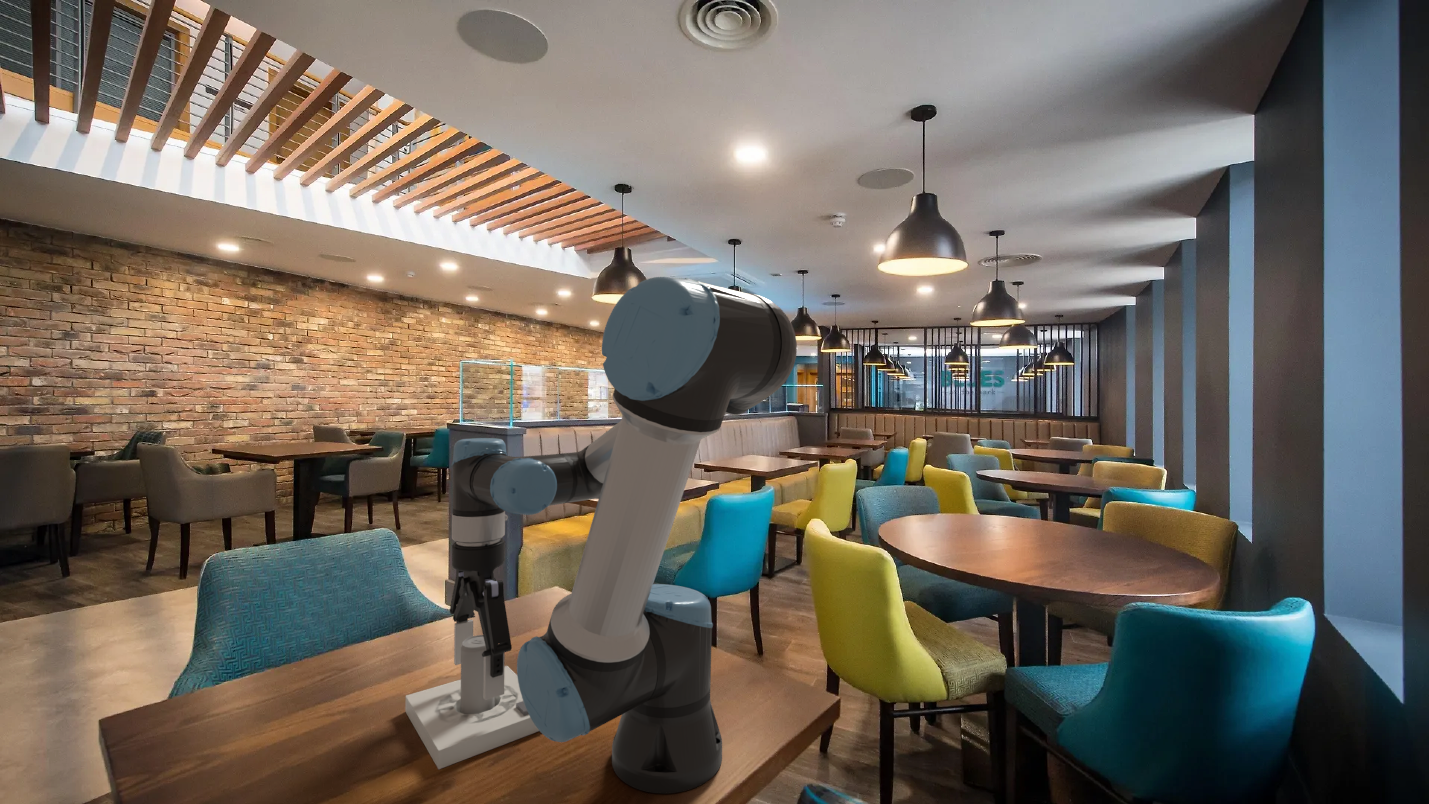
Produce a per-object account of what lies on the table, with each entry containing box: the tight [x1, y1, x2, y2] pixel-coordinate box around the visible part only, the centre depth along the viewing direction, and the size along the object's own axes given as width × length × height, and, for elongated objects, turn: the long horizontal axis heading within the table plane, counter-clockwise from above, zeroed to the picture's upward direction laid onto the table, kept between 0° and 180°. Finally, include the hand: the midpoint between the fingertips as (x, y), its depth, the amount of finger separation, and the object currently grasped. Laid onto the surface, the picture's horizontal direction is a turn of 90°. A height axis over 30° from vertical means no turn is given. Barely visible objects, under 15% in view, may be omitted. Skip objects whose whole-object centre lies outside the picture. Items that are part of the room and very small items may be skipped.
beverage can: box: [460, 634, 495, 715], centre depth 89 cm, size 5×5×12 cm
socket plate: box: [404, 665, 540, 770], centre depth 89 cm, size 18×16×3 cm
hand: (477, 678), depth 89 cm, fingers open, 13 cm apart
